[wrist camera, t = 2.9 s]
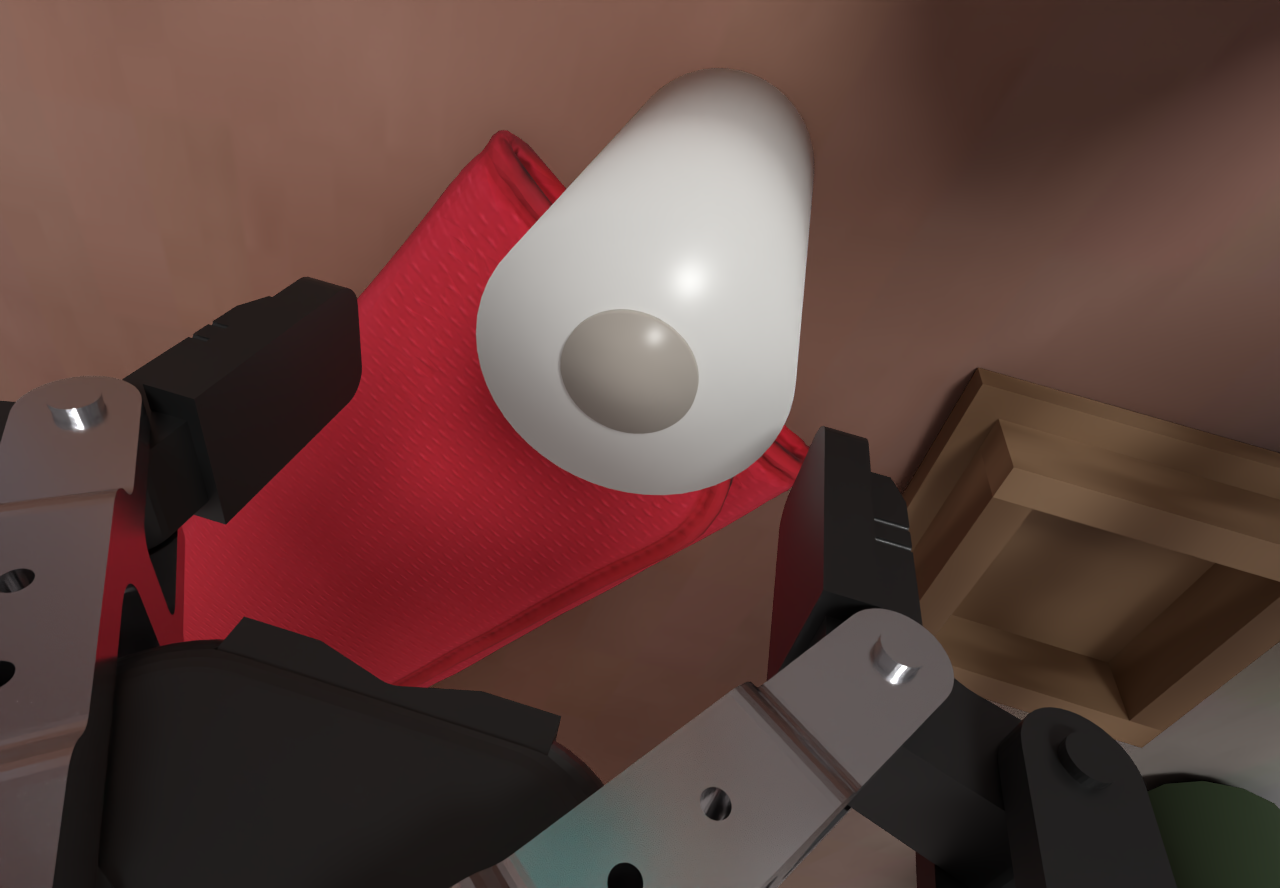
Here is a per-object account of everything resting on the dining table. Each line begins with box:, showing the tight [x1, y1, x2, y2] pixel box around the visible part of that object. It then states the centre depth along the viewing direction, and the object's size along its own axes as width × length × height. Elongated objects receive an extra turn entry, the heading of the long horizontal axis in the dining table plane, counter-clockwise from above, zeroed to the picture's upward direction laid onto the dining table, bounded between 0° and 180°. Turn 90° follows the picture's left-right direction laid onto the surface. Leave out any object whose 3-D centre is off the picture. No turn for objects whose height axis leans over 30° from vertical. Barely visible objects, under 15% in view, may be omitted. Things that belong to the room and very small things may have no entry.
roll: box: [476, 68, 814, 495], centre depth 16 cm, size 6×6×11 cm
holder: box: [902, 368, 1280, 748], centre depth 24 cm, size 12×12×4 cm
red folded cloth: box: [182, 130, 810, 688], centre depth 34 cm, size 16×41×4 cm, turn 135°
